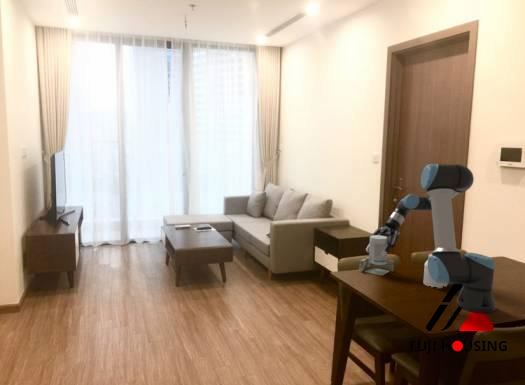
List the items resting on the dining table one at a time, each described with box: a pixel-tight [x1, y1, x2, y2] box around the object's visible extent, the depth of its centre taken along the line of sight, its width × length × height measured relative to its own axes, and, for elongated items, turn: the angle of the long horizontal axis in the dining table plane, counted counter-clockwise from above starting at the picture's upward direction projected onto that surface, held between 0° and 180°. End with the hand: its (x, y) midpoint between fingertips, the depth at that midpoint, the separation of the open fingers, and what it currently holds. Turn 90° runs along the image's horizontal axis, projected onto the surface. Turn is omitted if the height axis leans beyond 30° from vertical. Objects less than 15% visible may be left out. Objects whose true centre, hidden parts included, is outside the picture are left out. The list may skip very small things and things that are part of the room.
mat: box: [364, 267, 390, 276], centre depth 233 cm, size 10×10×1 cm
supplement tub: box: [368, 235, 388, 265], centre depth 232 cm, size 10×10×15 cm
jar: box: [422, 253, 449, 289], centre depth 214 cm, size 12×10×15 cm
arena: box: [358, 256, 395, 273], centre depth 234 cm, size 14×14×6 cm
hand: (374, 253), depth 231 cm, fingers closed on supplement tub, 9 cm apart
